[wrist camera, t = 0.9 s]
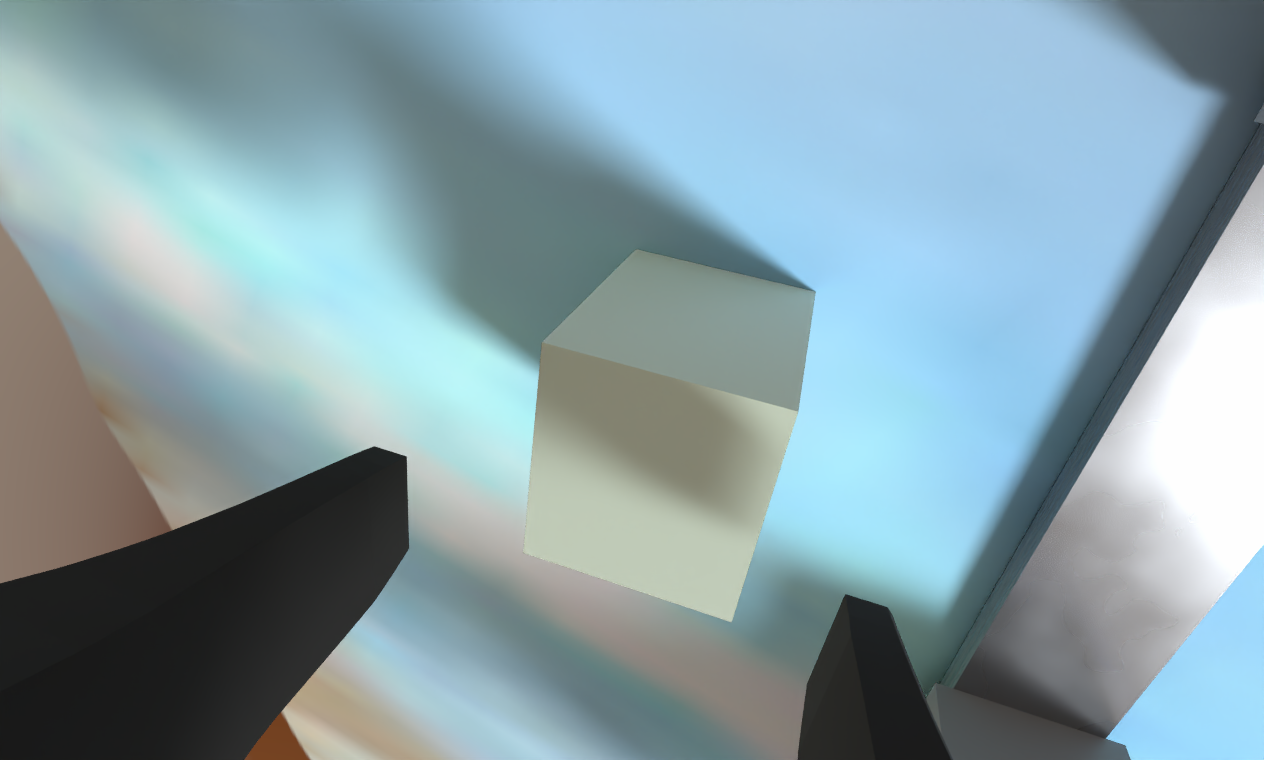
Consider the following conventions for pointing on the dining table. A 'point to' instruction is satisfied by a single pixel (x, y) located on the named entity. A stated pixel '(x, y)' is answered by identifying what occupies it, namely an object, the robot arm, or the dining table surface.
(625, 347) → the block
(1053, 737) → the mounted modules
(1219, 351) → the steel rail
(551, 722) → the dining table surface
